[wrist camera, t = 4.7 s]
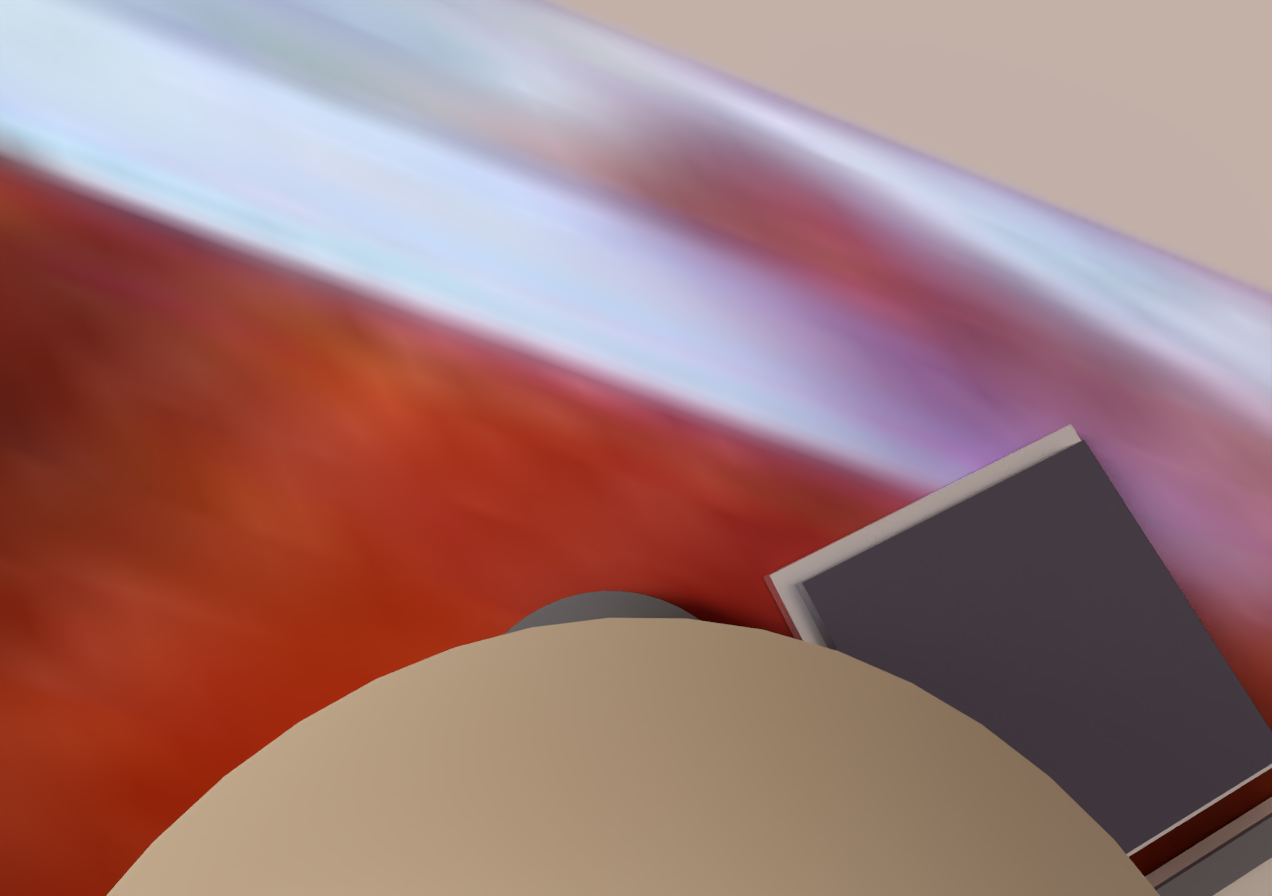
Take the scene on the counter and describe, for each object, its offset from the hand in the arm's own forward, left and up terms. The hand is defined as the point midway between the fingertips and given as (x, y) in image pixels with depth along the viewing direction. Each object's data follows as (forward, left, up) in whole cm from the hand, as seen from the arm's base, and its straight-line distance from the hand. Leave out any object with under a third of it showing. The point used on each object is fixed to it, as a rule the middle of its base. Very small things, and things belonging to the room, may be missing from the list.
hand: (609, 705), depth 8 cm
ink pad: (-4, -8, -7) cm, 11 cm away
